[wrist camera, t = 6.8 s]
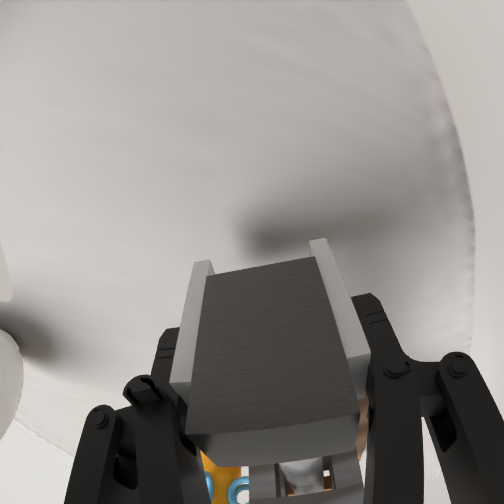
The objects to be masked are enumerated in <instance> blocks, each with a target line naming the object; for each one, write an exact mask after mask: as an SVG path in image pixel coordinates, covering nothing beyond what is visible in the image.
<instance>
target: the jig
mask: <svg viewBox="0 0 504 504" xmlns="http://www.w3.org/2000/svg"><path fill="white" fill-rule="evenodd" d="M358 403H359V407H360V411H361V414H360V420H359V426H358V432H357V437H356V442H355V447H354V450H353V451H349V452H344V453H339V454H334V455H329V456H324V457H322V461H323V471H326V470H329V473H330V480H331V487H332V490H328V491H322V492H316V493H310V494H303V495H295V496H288V483H287V478H286V476H285V475H284V473H283V471H282V469H281V467H280V465H279V463H277V464H267V465H256V466H249V504H363V498H364V486H363V481H362V475H361V470H360V465H359V461H360V460H361V456H362V453H363V449H364V446H365V442H366V438H367V433H368V418H366V416H367V411H368V406H369V400H368V397H367V393H366V395H365V398H363V399H359V400H358Z"/></svg>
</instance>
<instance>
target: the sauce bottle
mask: <svg viewBox="0 0 504 504" xmlns="http://www.w3.org/2000/svg"><path fill="white" fill-rule="evenodd" d="M23 377H24V369H23V359H22V357H21V355H20V353H19V347H18V345H17V343H16V342H15V341H14V339H13V337H12V336H11V335H10V334H8V333H7V332H5V331H2V330H0V440H1V439H2V437H3V435H4V434H5V433H6V431H7V429H8V428H9V426H10V424H11V422H12V420H13V418H14V416H15V413H16V411H17V408H18V405H19V402H20V398H21V394H22V388H23Z"/></svg>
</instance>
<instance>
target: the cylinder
mask: <svg viewBox="0 0 504 504" xmlns="http://www.w3.org/2000/svg"><path fill="white" fill-rule="evenodd" d="M200 452H201V457H202V462H203V467H204V472H205V477H206V481H207V486H208V491H209V495H210V499H211V504H239V503H238V502H237V495H238V493H239V492H240V491H242V490H249V484H243V485H240V484H242V483H249V477H248V476H244V477H241V467H217V466H216V465H215V464H214V463H213V462H212V461H211V460H210V459H209V458H208V457H207V456H206V455H205V454H204V453H203V452H202V451H201V450H200ZM246 504H249V502H248V503H246Z"/></svg>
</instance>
